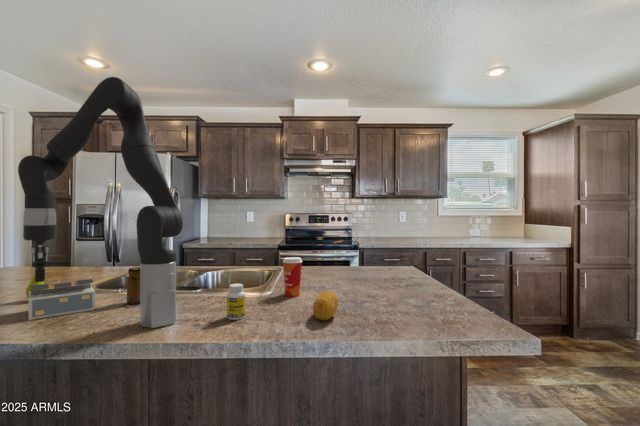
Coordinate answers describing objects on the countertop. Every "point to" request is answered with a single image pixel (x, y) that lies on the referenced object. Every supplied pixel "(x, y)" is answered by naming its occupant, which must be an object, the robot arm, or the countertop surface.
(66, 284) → the switch middle
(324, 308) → the potato
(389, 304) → the countertop surface
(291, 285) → the paper cup
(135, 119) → the robot arm
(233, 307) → the supplement bottle
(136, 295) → the condiment
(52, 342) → the countertop surface
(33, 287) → the switch left
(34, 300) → the switch unit
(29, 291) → the fruit
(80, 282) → the switch right
